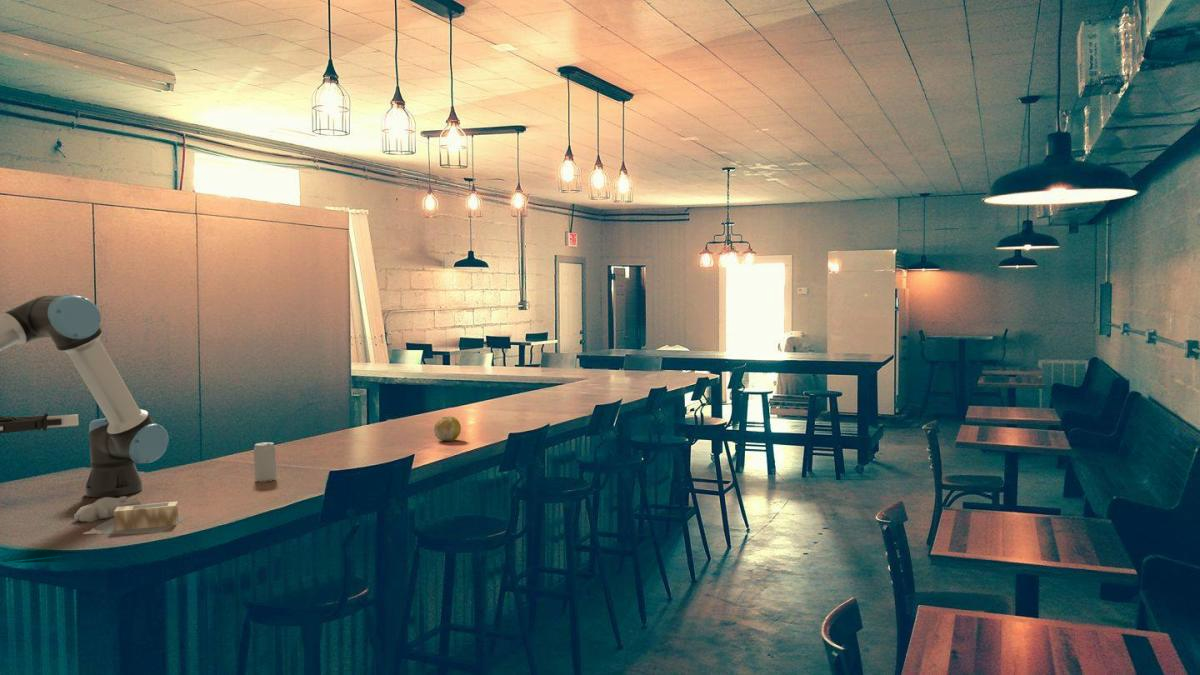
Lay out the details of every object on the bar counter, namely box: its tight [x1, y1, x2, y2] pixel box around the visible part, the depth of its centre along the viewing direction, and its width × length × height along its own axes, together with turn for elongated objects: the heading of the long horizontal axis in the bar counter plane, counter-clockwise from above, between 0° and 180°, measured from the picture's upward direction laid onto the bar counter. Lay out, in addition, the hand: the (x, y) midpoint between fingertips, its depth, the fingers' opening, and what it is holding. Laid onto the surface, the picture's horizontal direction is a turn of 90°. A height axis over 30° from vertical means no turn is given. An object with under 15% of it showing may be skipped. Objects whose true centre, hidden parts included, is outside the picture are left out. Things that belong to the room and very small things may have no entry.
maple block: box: [113, 500, 179, 531], centre depth 218 cm, size 5×5×14 cm
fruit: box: [433, 415, 462, 442], centre depth 339 cm, size 10×11×10 cm
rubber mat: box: [93, 516, 189, 535], centre depth 218 cm, size 20×15×1 cm
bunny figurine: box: [73, 495, 140, 523], centre depth 229 cm, size 10×5×15 cm
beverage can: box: [253, 441, 277, 483], centre depth 271 cm, size 6×6×12 cm
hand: (77, 419), depth 213 cm, fingers closed
